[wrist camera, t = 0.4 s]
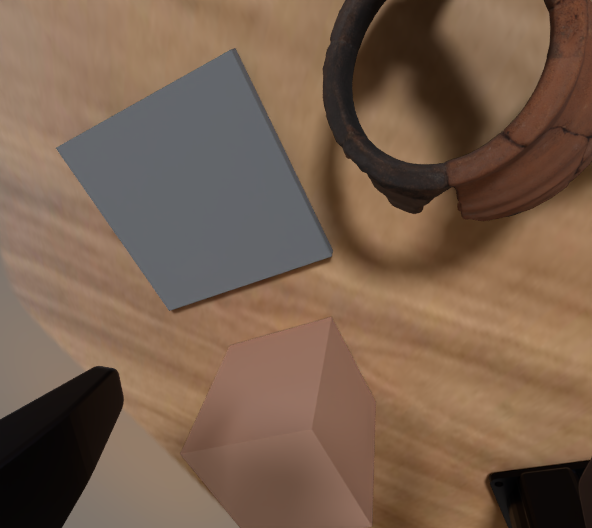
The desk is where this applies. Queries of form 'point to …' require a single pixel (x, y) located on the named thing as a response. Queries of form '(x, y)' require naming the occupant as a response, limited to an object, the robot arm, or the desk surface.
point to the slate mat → (199, 186)
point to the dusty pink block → (288, 432)
